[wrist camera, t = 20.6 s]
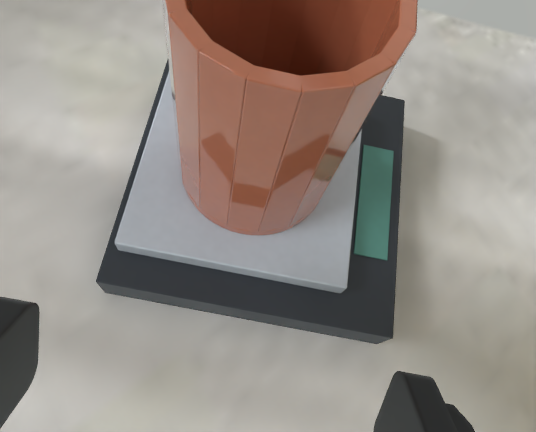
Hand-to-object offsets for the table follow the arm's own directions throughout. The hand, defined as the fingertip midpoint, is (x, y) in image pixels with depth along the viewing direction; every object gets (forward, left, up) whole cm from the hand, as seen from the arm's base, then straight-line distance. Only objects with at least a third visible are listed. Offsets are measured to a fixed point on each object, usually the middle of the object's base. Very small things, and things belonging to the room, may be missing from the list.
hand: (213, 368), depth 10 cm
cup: (0, +10, -8) cm, 12 cm away
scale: (+1, +10, -11) cm, 15 cm away
